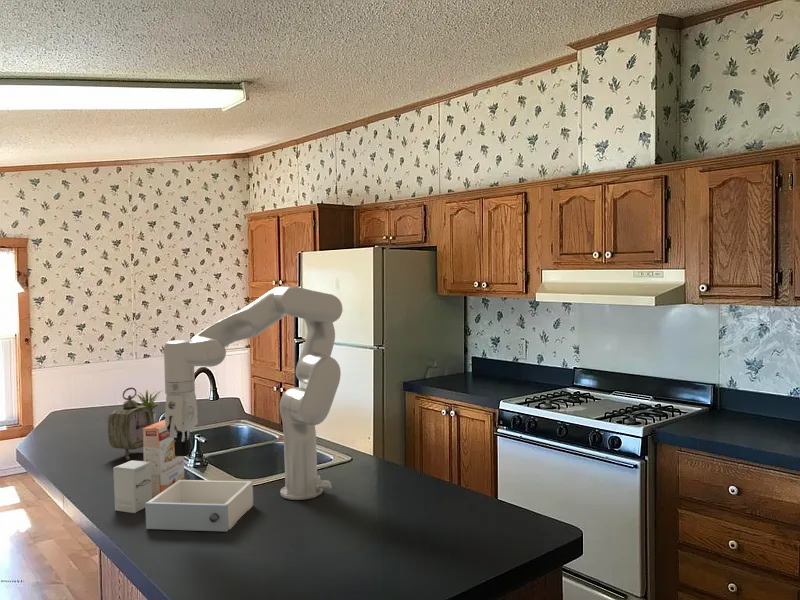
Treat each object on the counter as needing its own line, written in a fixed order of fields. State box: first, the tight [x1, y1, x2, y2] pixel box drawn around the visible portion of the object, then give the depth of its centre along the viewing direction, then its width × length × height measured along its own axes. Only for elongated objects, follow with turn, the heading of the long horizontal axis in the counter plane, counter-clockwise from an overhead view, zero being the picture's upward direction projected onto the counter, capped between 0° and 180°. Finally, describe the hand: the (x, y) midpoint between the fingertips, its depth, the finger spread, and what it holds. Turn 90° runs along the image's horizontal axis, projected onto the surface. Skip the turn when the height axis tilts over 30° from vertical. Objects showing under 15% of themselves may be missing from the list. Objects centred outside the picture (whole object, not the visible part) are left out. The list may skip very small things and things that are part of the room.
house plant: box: [134, 389, 165, 424], centre depth 291 cm, size 14×14×16 cm
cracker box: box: [142, 418, 186, 498], centre depth 208 cm, size 14×6×21 cm, turn 168°
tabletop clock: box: [107, 387, 154, 461], centre depth 246 cm, size 14×9×25 cm, turn 161°
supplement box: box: [112, 460, 153, 514], centre depth 193 cm, size 7×7×13 cm
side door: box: [144, 502, 229, 532], centre depth 175 cm, size 22×2×7 cm, turn 82°
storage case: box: [148, 479, 254, 531], centre depth 185 cm, size 22×18×7 cm
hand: (181, 455), depth 181 cm, fingers closed
